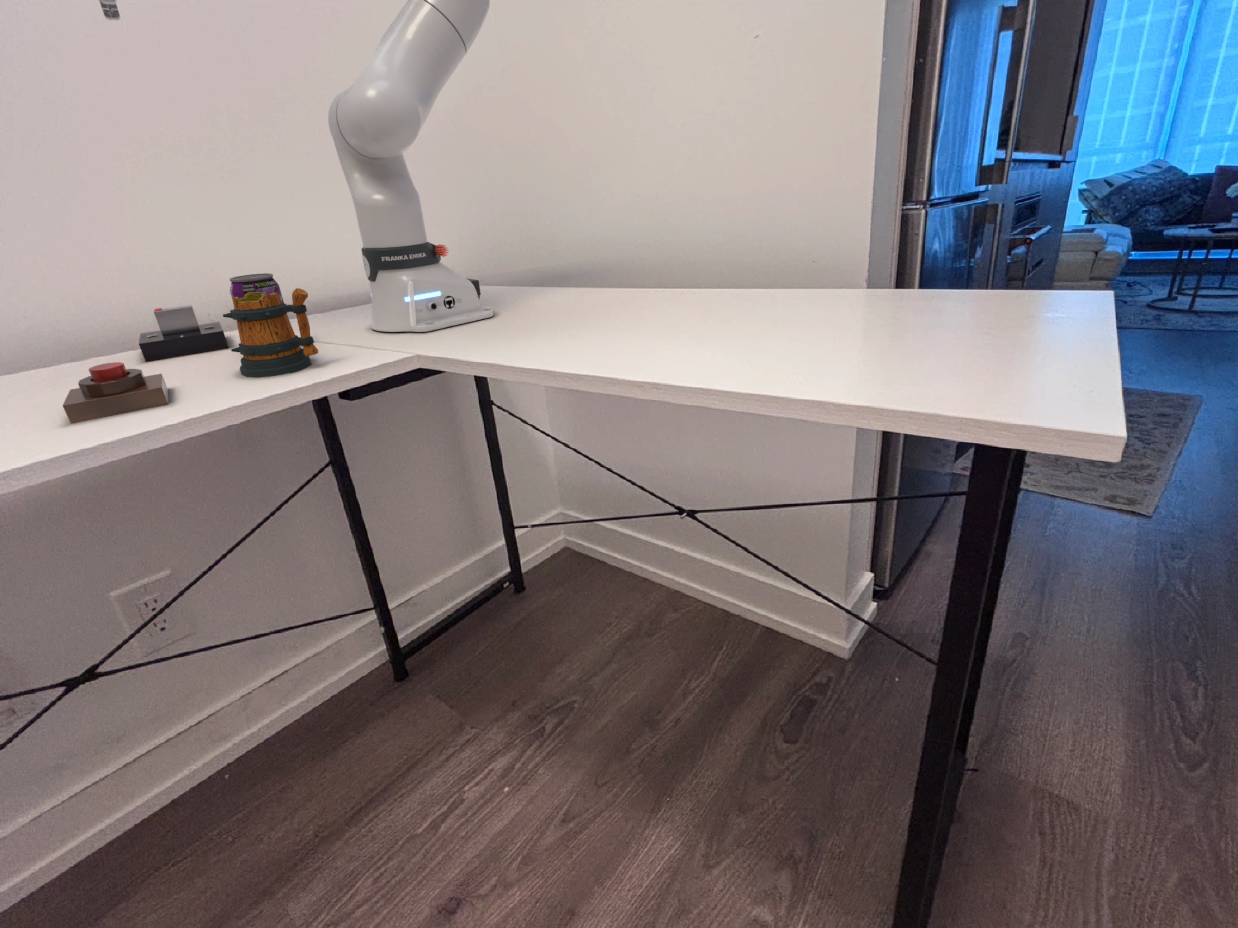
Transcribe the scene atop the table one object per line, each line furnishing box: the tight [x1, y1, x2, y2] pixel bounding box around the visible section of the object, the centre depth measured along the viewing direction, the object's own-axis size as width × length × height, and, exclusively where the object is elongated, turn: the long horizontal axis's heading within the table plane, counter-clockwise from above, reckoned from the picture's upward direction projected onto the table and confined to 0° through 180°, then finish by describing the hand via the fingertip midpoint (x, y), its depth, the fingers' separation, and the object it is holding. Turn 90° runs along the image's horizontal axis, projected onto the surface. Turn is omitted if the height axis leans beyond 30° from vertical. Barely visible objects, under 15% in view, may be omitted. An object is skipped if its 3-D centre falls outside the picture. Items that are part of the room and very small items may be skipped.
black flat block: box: [138, 321, 230, 363], centre depth 107 cm, size 12×10×3 cm
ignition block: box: [62, 368, 169, 424], centre depth 80 cm, size 10×8×4 cm
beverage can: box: [229, 272, 289, 317], centre depth 101 cm, size 7×7×12 cm
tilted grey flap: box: [153, 304, 200, 335], centre depth 106 cm, size 6×2×4 cm, turn 124°
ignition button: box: [88, 361, 128, 382], centre depth 79 cm, size 4×4×2 cm
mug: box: [222, 287, 319, 379], centre depth 91 cm, size 13×10×12 cm
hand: (111, 11), depth 82 cm, fingers open, 8 cm apart
